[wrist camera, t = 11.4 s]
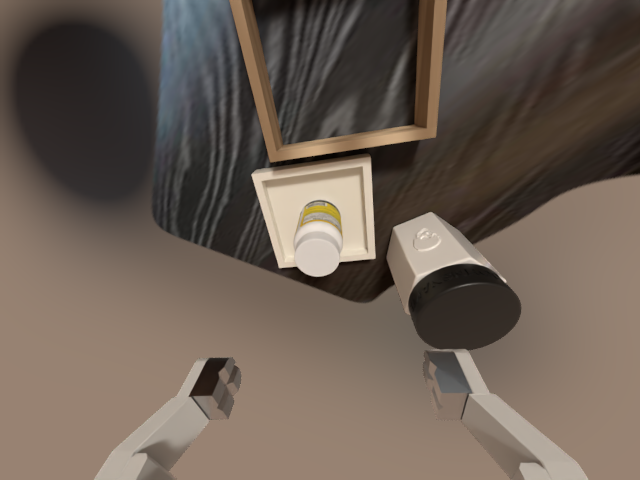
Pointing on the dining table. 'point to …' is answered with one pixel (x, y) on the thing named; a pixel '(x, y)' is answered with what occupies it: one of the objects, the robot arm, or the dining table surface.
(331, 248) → the supplement bottle
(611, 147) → the dining table surface
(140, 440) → the robot arm
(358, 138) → the frame
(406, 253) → the jar
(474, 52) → the dining table surface
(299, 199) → the tray
